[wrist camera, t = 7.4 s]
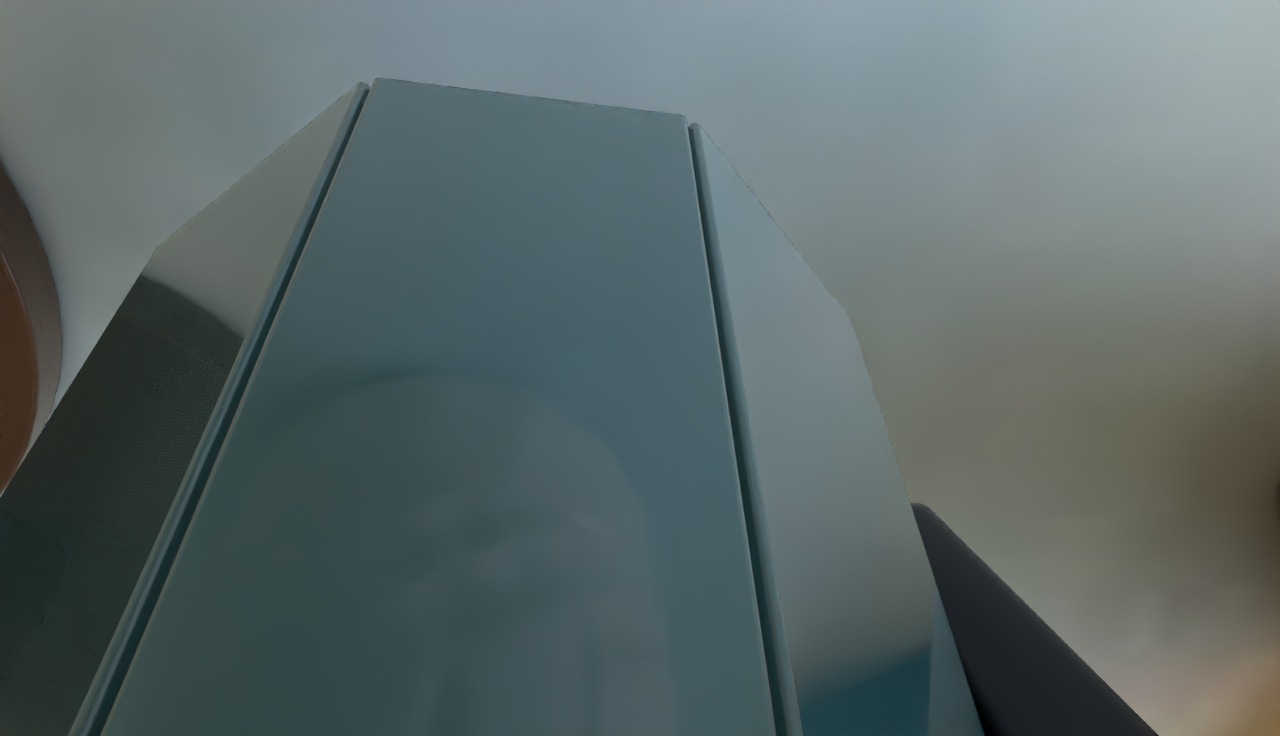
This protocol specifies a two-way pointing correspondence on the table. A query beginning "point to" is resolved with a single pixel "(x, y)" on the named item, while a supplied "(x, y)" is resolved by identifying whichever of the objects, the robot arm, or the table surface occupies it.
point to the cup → (474, 458)
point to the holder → (24, 334)
